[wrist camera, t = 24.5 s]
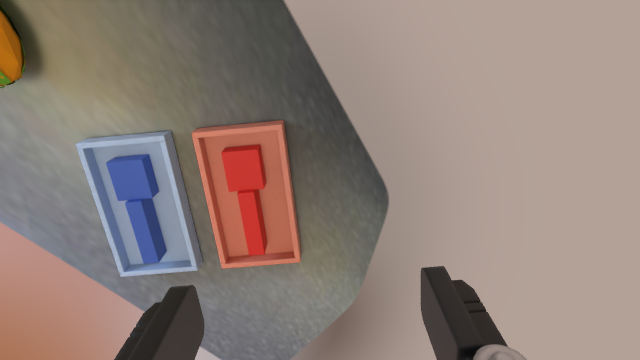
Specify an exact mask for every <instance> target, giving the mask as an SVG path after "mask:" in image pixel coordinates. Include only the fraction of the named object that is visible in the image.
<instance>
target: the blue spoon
mask: <svg viewBox="0 0 640 360" xmlns="http://www.w3.org/2000/svg"><path fill="white" fill-rule="evenodd" d="M106 165H107V168H108V171H109V174H110V177H111V180H112V184H113V187H114V190H115V193H116V196H117V199H118V201H126V200H128V201H127V202H125V205H126V209H127V212H128V215H129V218H130V221H131V225H132V228H133V231H134V234H135V237H136V241H137V244H138V247H139V250H140V253H141V257H142V260H143V263H144V264H148V263H159V262H160V260H161V259H162V258H163V256H164V255H165V253H166V252H167V250H166V246H165V242H164V239H163V235H162V232H161V228H160V225H159V221H158V218H157V214H156V211H155V207H154V204H153V200H152V198H153V197H154V196H155V195H156V194H157V193H158V192H159V189H158V185H157V181H156V178H155V174H154V170H153V167H152V163H151V159H150V156H149V154H144V155H133V156H123V157H114V158H113V159H111V160H109V161H108V162H106Z"/></svg>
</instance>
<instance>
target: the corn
mask: <svg viewBox="0 0 640 360" xmlns="http://www.w3.org/2000/svg"><path fill="white" fill-rule="evenodd" d="M25 64H26V62H25V52H24V48H23V45H22V41H21V38H20V36H19V34H18V32H17V30H16V28H15V26H14V24H13V22H12V20H11V18H10V16H9V15H8V14H7V12H6V11H5V10H4V8H3V7H2V5H1V4H0V86H3V87H5V86H4V85H10V84H13V83H15V80H17V79H18V80H19V78H21V77H22V75H23V72H24V70H25ZM3 87H0V88H3Z"/></svg>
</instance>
